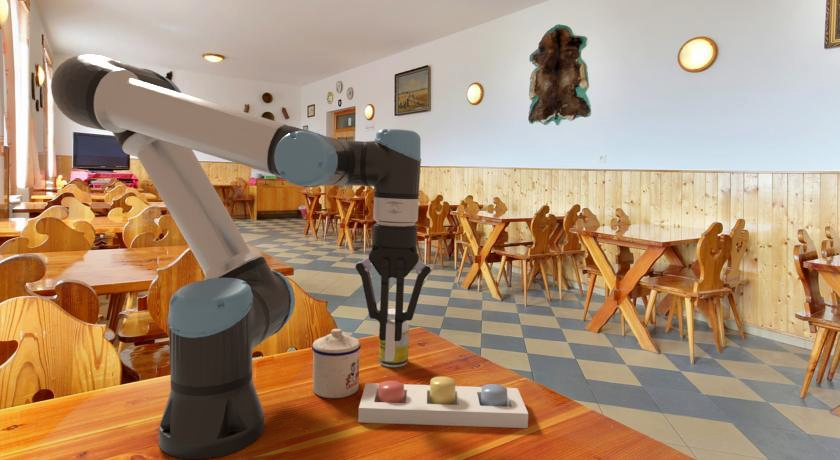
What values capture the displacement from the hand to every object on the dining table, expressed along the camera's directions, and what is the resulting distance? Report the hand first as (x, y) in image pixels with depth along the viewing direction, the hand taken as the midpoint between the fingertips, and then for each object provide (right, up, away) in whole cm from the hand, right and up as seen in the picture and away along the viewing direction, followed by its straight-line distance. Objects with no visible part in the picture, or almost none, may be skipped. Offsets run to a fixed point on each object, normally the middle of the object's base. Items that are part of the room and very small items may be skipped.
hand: (389, 358), depth 87 cm
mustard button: (+9, -8, +1) cm, 12 cm away
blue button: (+18, -9, +1) cm, 20 cm away
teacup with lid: (-11, -8, +10) cm, 17 cm away
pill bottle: (-1, -7, +23) cm, 24 cm away
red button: (0, -9, +1) cm, 9 cm away
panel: (+9, -10, +1) cm, 13 cm away
